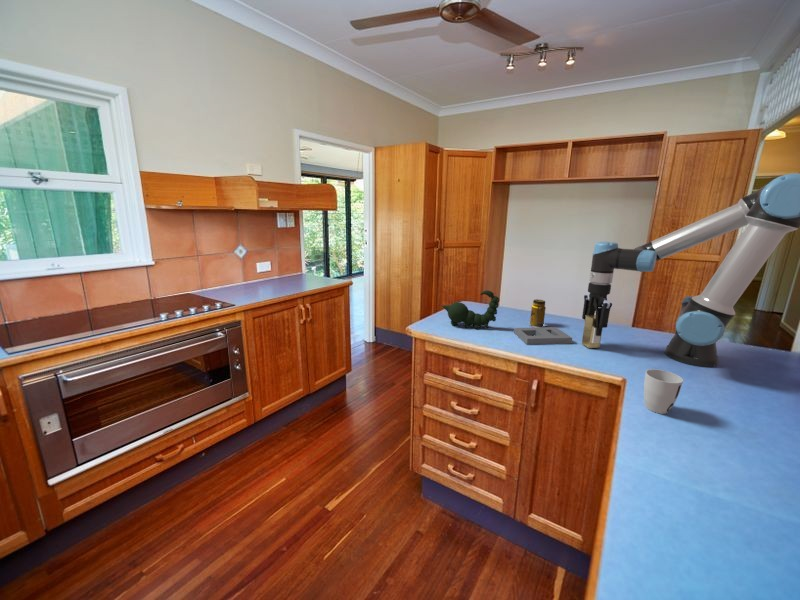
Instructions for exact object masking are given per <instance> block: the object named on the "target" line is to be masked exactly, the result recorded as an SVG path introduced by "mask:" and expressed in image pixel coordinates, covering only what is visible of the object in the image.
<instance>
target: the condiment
mask: <svg viewBox="0 0 800 600" xmlns="http://www.w3.org/2000/svg"><path fill="white" fill-rule="evenodd" d="M545 315H546V301H545V300H543V299H538V298H537V299H533V301H532V305H531V311H530V318H529V319H530V320H529V323H530V325H529V326H531V325H532V326H531V327H532V328H539V327H542V326H543V324H544V323H545ZM534 326H535V327H534ZM545 327H551V325H549V326H545Z"/></svg>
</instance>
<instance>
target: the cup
mask: <svg viewBox="0 0 800 600" xmlns="http://www.w3.org/2000/svg"><path fill="white" fill-rule="evenodd" d="M683 382H684V379H683V378H682V377H681V376H679V375H678V374H676V373H674V372H671V371H668V370H667V371H666V370H663V369H656V368H655V369H654V368H652V369H650V368H649V369H647V370H645V374H644V382H643V399H644V405H645V408H646V409H647V410H648V409H649V410H648V411H650V412H652V411H653V413H655V412H656V413H655V414H658V413H660V414H659V415H667V414H668V413H669V412H670V410H672V408H673V406H674V405H675V402H676V401H677V400H678V398H679V397H678V396H679V395H680V392H681V389H682V385H683ZM666 413H667V414H666Z"/></svg>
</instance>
